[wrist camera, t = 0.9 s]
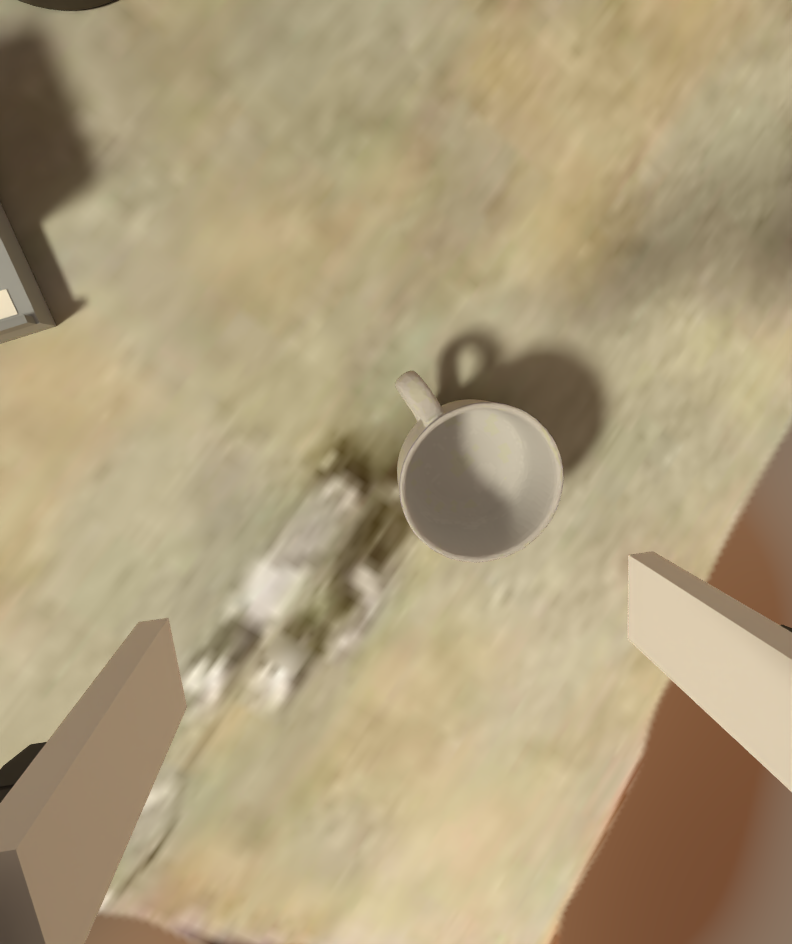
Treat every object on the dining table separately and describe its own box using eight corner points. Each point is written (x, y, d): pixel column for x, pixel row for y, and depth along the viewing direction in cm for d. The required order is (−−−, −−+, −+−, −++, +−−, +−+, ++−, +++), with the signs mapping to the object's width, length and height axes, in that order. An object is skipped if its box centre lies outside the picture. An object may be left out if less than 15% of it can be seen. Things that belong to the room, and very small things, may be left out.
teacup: (540, 493, 41) (587, 521, 33) (422, 551, 41) (442, 592, 33) (474, 334, 38) (510, 324, 30) (346, 396, 38) (349, 401, 30)
